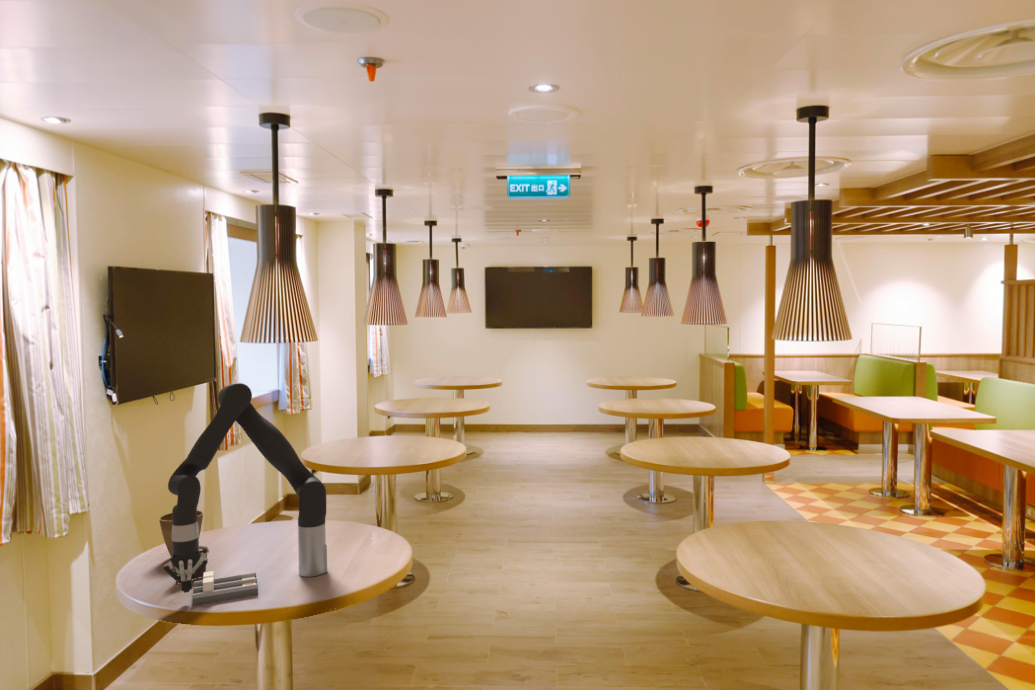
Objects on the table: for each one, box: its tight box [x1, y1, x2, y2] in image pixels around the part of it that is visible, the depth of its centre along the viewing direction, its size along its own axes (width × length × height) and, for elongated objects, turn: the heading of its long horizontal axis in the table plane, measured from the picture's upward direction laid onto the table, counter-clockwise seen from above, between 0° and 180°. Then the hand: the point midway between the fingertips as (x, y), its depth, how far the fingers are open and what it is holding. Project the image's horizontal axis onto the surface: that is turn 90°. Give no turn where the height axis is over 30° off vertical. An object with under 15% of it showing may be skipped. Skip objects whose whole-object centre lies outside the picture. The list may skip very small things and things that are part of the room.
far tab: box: [202, 570, 215, 579], centre depth 210 cm, size 3×4×4 cm
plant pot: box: [158, 509, 204, 557], centre depth 245 cm, size 15×15×16 cm
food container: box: [173, 545, 210, 585], centre depth 223 cm, size 12×6×10 cm, turn 141°
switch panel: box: [191, 572, 259, 605], centre depth 210 cm, size 19×12×3 cm, turn 115°
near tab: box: [202, 576, 215, 592], centre depth 205 cm, size 3×4×4 cm
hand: (186, 591), depth 202 cm, fingers closed
